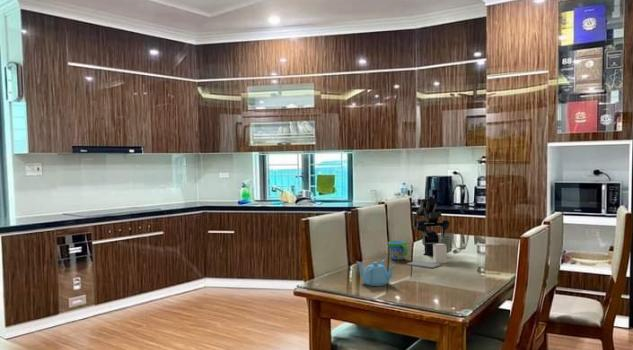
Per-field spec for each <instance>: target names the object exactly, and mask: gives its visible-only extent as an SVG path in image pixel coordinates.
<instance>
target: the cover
mask: <svg viewBox="0 0 633 350" xmlns="http://www.w3.org/2000/svg"><path fill="white" fill-rule="evenodd" d="M447 251H448V250H447V244H445V243H444V242H443V243H439V242H438V243H437V244H433V256H432V257H433V263H440V264H446V263H448V254H447V253H448V252H447Z"/></svg>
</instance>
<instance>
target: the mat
mask: <svg viewBox="0 0 633 350" xmlns="http://www.w3.org/2000/svg"><path fill="white" fill-rule="evenodd" d="M406 265H407V266H411V267H412V266H413V267H419V268H425V269H426V268H428V269H435V268H438V267H441V266H443V263H435V262H434V261H433V262H431V261H425V260H413V261H410V262H406Z"/></svg>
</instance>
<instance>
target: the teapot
mask: <svg viewBox="0 0 633 350" xmlns="http://www.w3.org/2000/svg"><path fill="white" fill-rule="evenodd" d="M355 262H356V263H357V264H358V267H359V268H358V269H359V275H360V276H361V277H362V278H361V281H362V282H363V283H364V284H365V285H366V286H369V287H383V286H386V285H388V284H389V282H390V280H392V277H393V267H394V266H395V264H391V265H390V266H388V267H389V268H388V270H387V268H386V266H385V258H384V259H381V260H380V263H379V262H378V261H373V262H372V264H368V265H367V266H366V267H365V269H364V268H363V264H362V262H360V261H357V260H356V261H355Z"/></svg>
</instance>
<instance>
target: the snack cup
mask: <svg viewBox="0 0 633 350" xmlns="http://www.w3.org/2000/svg"><path fill="white" fill-rule="evenodd" d="M387 252H389V254H390V259H391V260H394V261H402V260H405V256H407V255H408V249H407V242H406V241H405V240H404V241H403V240H390V241H388V242H387Z"/></svg>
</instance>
